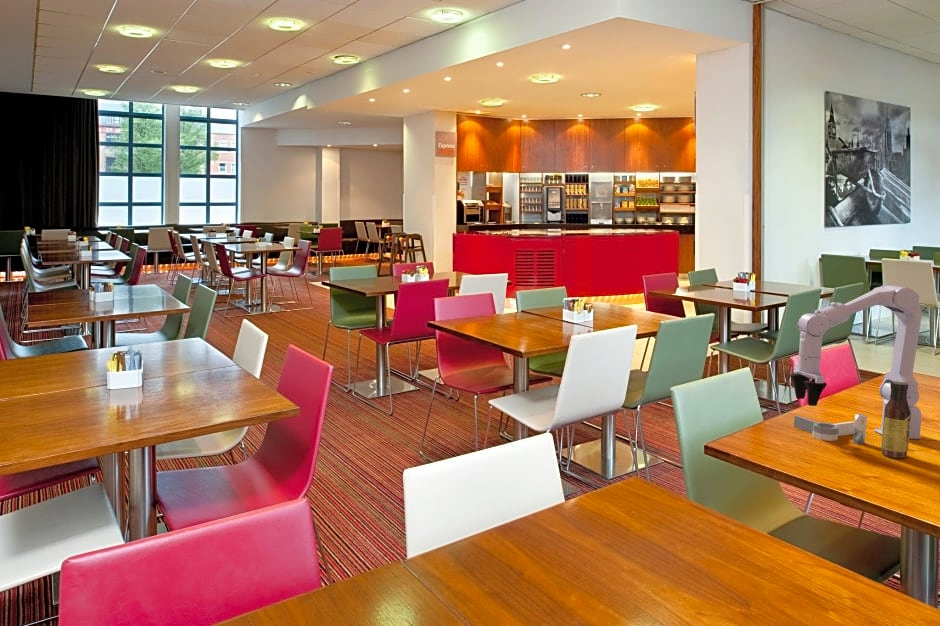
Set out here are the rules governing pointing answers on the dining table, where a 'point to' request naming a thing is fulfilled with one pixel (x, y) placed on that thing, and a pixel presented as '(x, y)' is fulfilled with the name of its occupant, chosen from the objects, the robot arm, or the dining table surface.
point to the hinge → (824, 428)
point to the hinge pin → (859, 429)
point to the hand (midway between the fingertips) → (806, 401)
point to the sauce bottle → (896, 422)
